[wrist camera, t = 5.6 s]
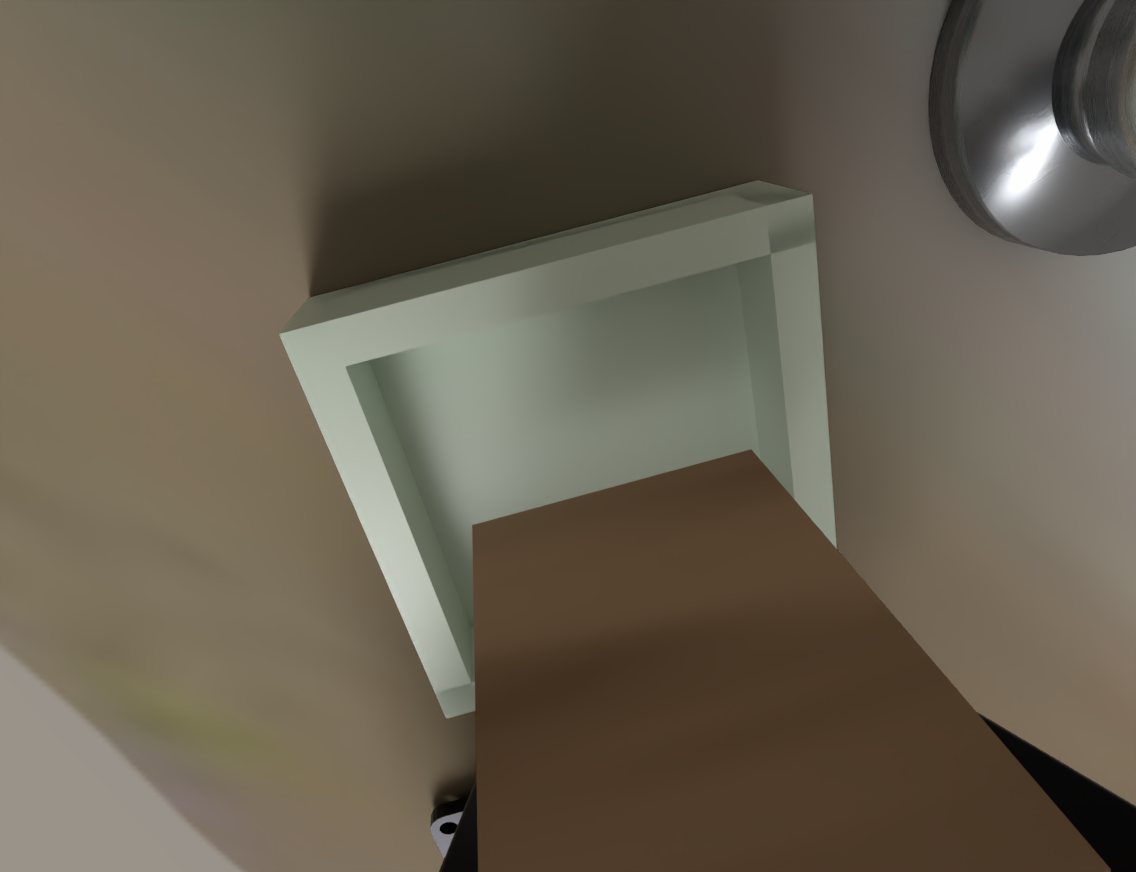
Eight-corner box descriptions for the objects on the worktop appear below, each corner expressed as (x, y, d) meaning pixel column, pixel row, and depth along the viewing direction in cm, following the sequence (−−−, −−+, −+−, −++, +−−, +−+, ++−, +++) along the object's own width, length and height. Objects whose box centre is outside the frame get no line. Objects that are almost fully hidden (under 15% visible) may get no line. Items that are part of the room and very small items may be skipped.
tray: (795, 548, 18) (840, 609, 15) (448, 643, 17) (446, 719, 15) (757, 180, 14) (812, 194, 12) (308, 298, 13) (279, 333, 11)
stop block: (778, 660, 11) (1059, 1148, 6) (542, 726, 11) (612, 1284, 6) (751, 449, 10) (1111, 868, 4) (471, 525, 10) (481, 1051, 4)
